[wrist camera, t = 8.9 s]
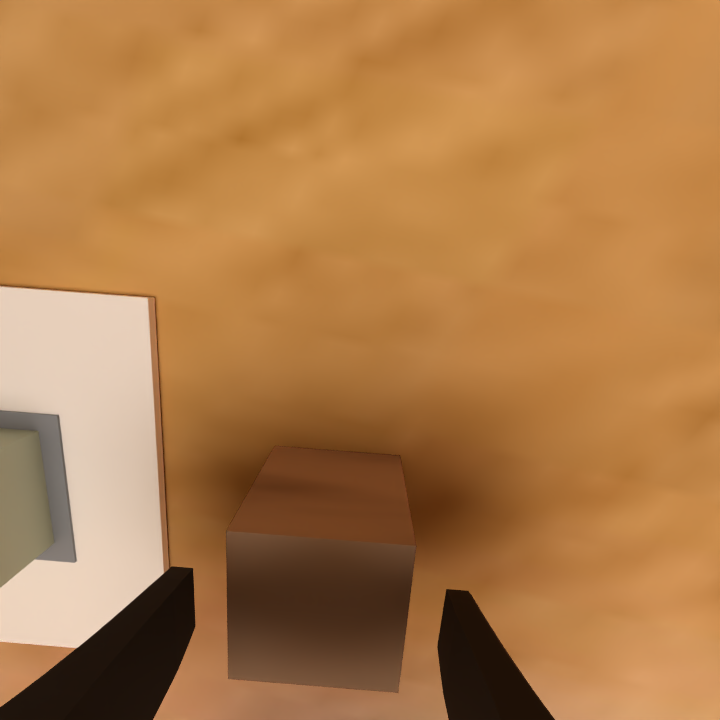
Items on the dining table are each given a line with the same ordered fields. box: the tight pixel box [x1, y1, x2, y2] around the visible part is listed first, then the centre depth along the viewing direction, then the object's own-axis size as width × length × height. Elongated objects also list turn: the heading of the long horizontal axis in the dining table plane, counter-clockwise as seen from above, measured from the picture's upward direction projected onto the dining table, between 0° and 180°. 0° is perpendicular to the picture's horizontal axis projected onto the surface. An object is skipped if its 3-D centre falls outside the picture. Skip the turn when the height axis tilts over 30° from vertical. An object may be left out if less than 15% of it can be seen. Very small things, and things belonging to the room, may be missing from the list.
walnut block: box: [226, 446, 416, 693], centre depth 12 cm, size 5×5×5 cm
